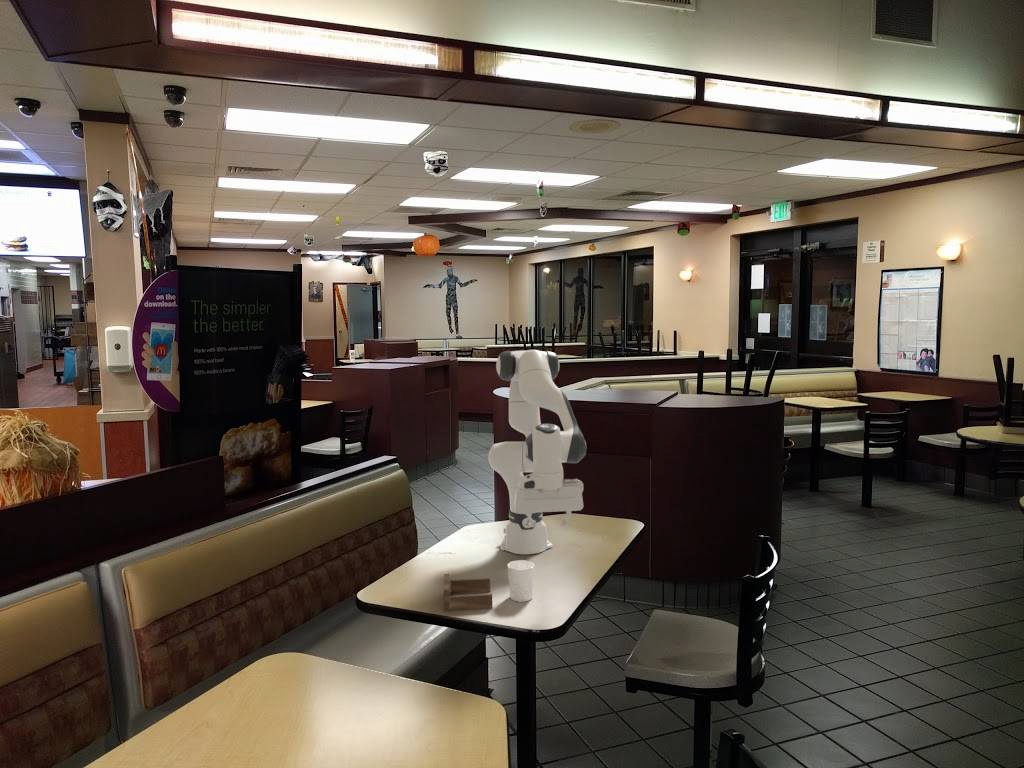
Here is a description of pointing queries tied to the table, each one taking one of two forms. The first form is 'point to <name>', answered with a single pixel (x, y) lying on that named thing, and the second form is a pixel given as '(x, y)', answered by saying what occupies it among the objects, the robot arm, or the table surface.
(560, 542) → the table surface
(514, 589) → the white cup
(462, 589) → the open brown box
